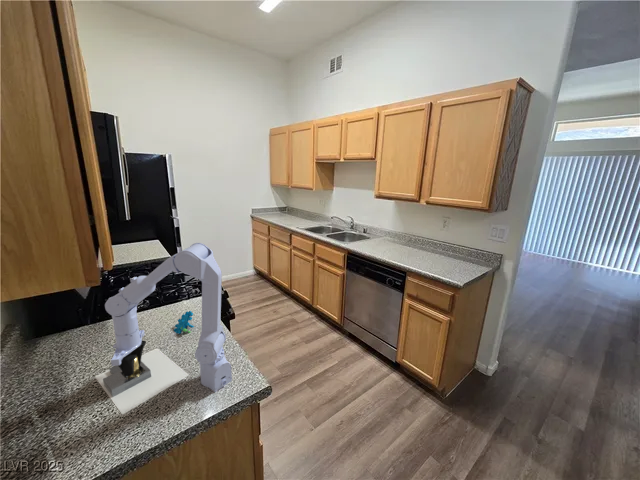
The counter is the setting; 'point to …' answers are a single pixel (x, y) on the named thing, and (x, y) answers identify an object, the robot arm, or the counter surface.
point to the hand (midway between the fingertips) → (132, 369)
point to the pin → (135, 368)
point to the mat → (147, 381)
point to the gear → (184, 323)
